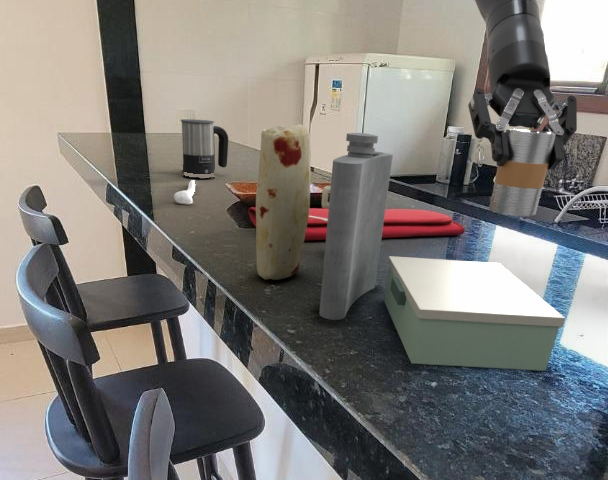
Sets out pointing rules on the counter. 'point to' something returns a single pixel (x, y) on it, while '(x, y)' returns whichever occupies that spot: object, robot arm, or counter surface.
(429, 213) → the dish drying mat
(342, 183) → the hip flask
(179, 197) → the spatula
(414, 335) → the box
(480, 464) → the counter surface
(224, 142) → the milk frother
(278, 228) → the food model
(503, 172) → the tin can
